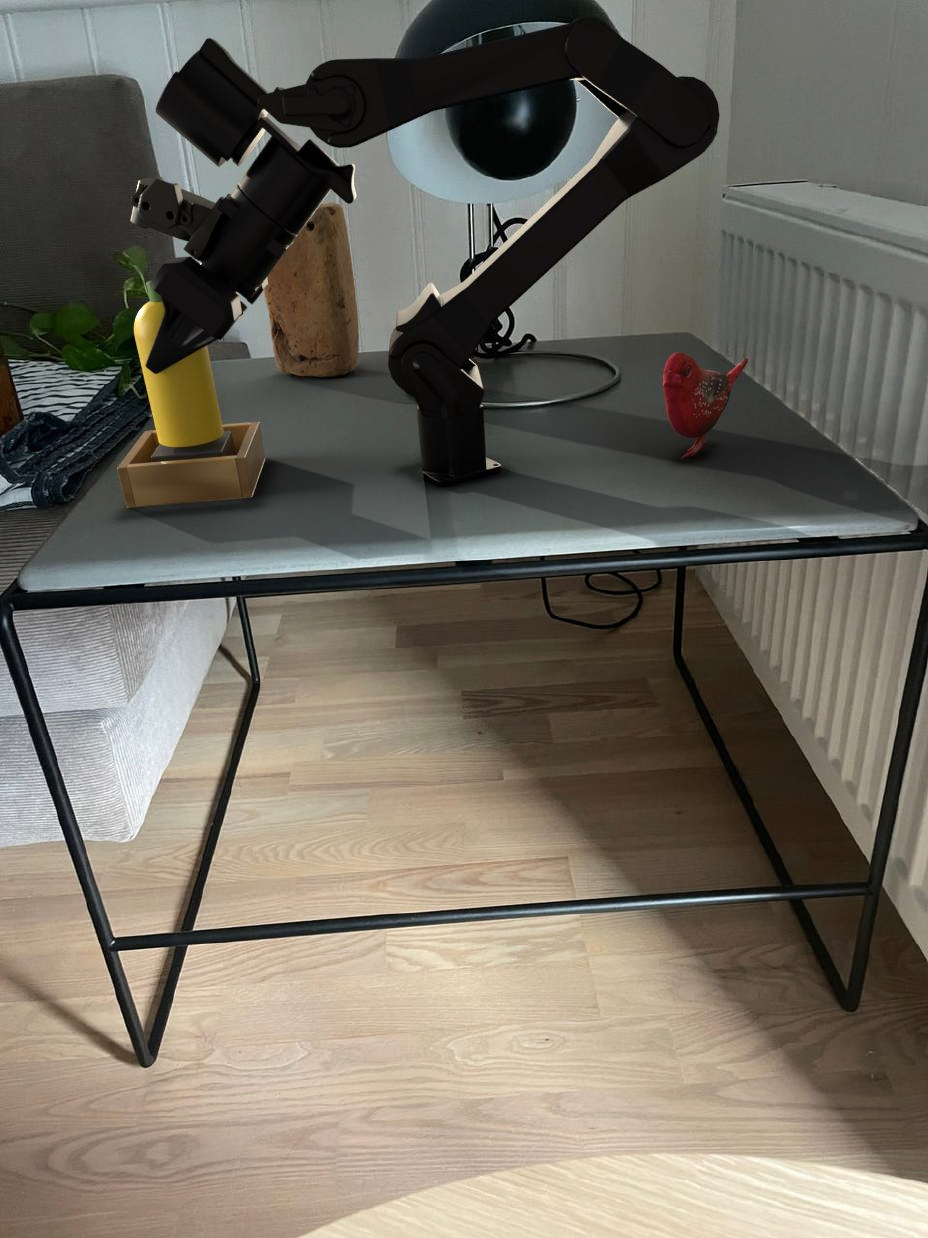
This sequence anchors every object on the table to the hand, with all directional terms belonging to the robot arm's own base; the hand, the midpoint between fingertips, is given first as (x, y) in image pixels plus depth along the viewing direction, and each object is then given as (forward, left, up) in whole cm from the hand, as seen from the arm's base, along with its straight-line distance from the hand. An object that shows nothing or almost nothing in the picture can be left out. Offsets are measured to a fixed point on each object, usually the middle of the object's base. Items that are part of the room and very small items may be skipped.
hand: (159, 361), depth 80 cm
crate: (-1, -1, -11) cm, 12 cm away
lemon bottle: (-1, -1, -7) cm, 7 cm away
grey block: (-1, -1, -11) cm, 11 cm away
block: (+32, -27, -12) cm, 44 cm away
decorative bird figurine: (-22, -42, -12) cm, 49 cm away
